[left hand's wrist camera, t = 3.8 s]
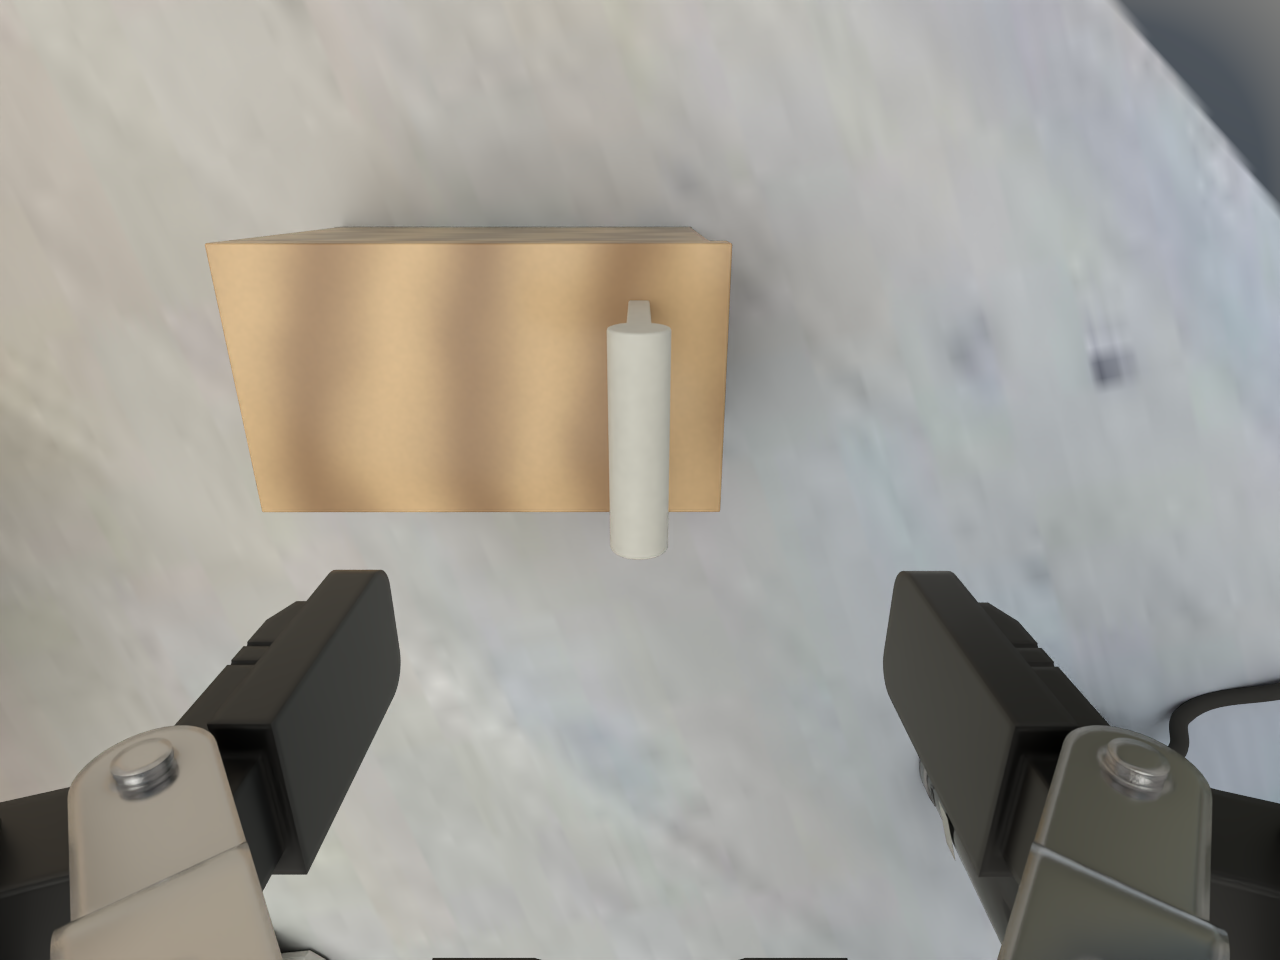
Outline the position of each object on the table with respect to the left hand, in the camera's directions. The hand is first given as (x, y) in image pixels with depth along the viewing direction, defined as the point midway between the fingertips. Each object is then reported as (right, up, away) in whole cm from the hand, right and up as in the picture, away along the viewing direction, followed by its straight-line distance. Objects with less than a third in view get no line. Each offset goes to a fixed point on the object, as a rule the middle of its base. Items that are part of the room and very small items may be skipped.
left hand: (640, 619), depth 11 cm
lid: (-6, +6, +15) cm, 17 cm away
